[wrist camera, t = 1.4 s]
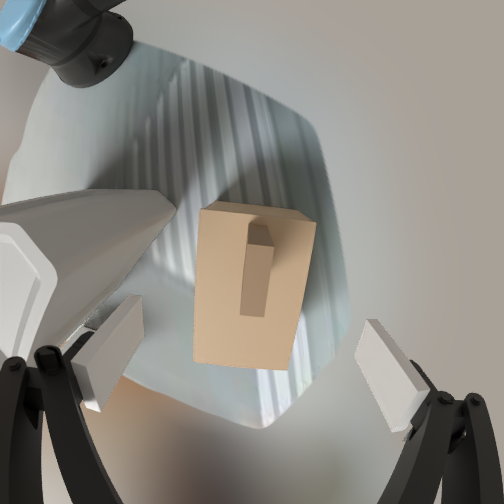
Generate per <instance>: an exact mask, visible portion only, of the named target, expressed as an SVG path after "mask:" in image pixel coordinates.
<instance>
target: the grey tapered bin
mask: <svg viewBox="0 0 504 504" xmlns="http://www.w3.org/2000/svg"><path fill="white" fill-rule="evenodd" d="M175 213H176V207H175V206H174V205H173V204H172V203H171V202H170V201H169V200H168V199H167V198H166V197H165V196H163V195H162V194H161V193H160V192H159V191H157V190H142V189H87V190H80V191H73V192H67V193H61V194H55V195H50V196H44V197H39V198H34V199H29V200H24V201H19V202H15V203H10V204H6V205H2V206H0V370H1V368H2V365H3V363H4V361H5V360H6V359H8V358H10V357H12V356H19V357H22V358H23V359H24V360H25V361H26V364H27V366H28V367H35V368H37V365H36V362H35V359H34V352H35V351H36V350H37V349H38V348H40V347H42V346H45V345H53V346H56V347H58V348H59V347H60V346H61V345H62V344H63V343H64V342H65V340H66V339H67V338H68V337H69V336H70V335H71V334H72V333H73V332H74V331H75V330H76V329H77V328H78V327H79V326H80V325H81V324H82V323H83V322H84V321H85V320H86V319H87V318H88V317H89V316H90V315H91V314H92V313H93V312H94V311H95V310H96V309H97V308H98V307H99V306H100V305H101V304H102V303H103V302H104V301H105V300H106V299H108V298H109V297H110V296H111V295H112V294H113V293H114V292H115V291H116V290H117V289H118V287H119V286H120V284H121V283H122V282H123V280H124V279H125V278H126V276H127V275H128V273H129V272H130V271H131V269H132V268H133V267H134V265H135V264H136V263H137V261H138V260H139V259H140V257H141V256H142V255H143V254H144V252H145V251H146V250H147V248H148V247H149V246H150V245H151V243H152V242H153V241H154V239H155V238H156V237H157V236H158V234H159V233H160V232H161V231H162V230H163V228H164V227H165V226H166V225H167V223H168V222H169V221H170V220H171V219H172V217H173V216H174V215H175Z"/></svg>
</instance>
